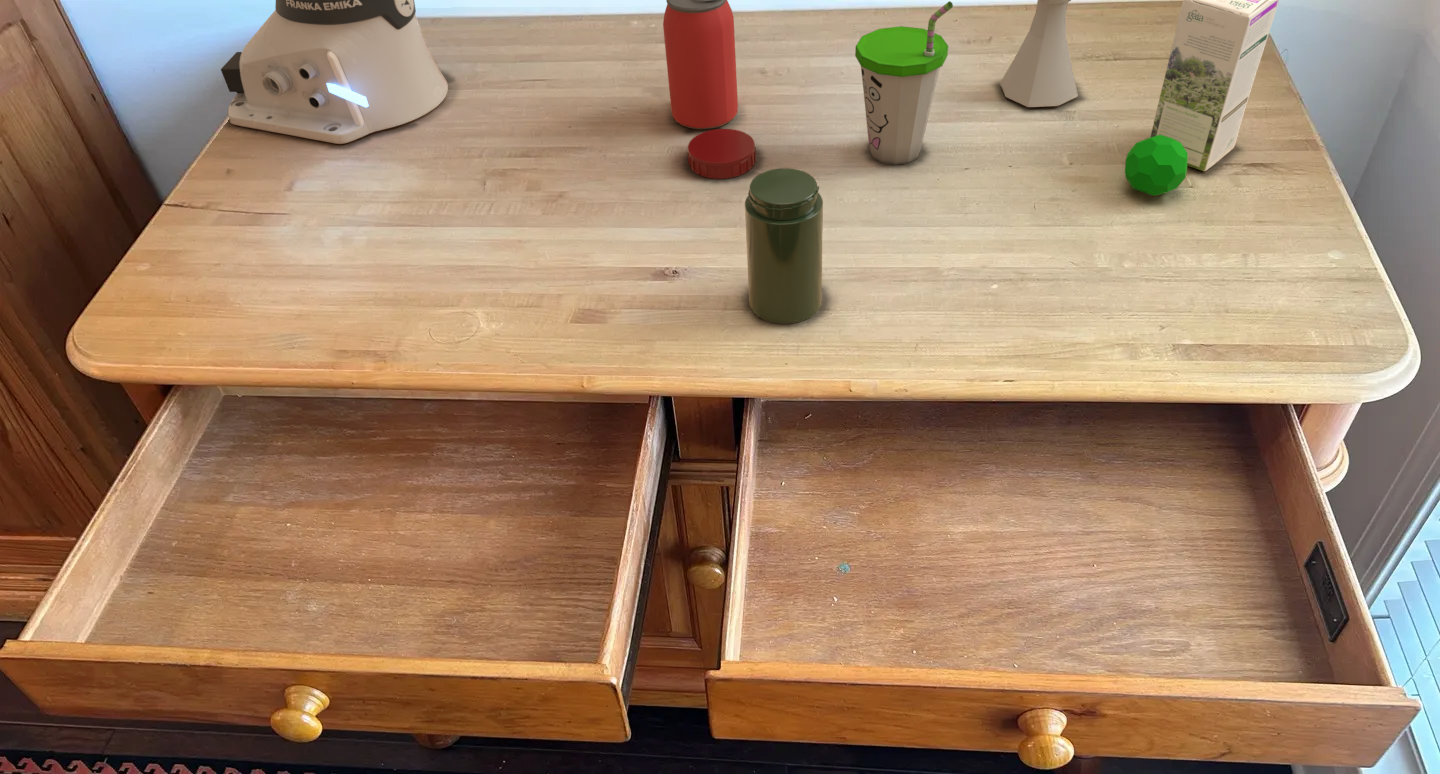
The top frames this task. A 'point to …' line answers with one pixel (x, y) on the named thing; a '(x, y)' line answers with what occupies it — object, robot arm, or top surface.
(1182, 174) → the polyhedron
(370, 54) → the robot arm
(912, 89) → the cup
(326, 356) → the top surface
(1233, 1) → the syrup box
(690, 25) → the beer can
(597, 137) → the top surface
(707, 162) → the lid
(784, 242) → the jar
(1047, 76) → the flask
